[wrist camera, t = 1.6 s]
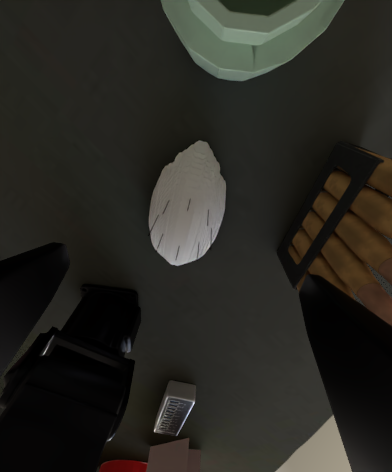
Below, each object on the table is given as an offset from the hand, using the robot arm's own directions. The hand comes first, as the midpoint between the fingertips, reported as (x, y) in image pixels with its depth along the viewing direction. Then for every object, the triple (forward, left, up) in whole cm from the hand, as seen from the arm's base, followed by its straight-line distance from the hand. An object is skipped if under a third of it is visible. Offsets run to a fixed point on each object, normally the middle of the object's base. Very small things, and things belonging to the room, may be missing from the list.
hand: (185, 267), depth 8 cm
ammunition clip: (+10, -1, -12) cm, 16 cm away
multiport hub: (0, -40, -12) cm, 42 cm away
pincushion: (-1, -3, -12) cm, 13 cm away
